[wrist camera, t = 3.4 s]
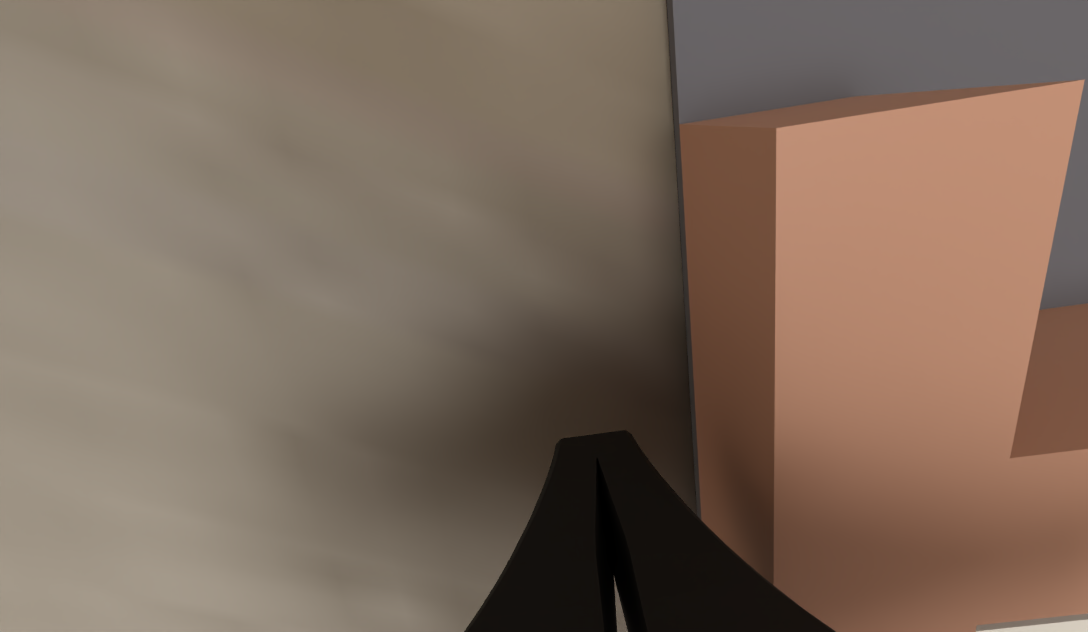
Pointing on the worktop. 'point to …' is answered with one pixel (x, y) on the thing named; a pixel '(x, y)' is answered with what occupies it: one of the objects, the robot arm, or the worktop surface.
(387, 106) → the worktop surface
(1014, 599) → the t block
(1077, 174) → the mat
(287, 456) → the worktop surface
